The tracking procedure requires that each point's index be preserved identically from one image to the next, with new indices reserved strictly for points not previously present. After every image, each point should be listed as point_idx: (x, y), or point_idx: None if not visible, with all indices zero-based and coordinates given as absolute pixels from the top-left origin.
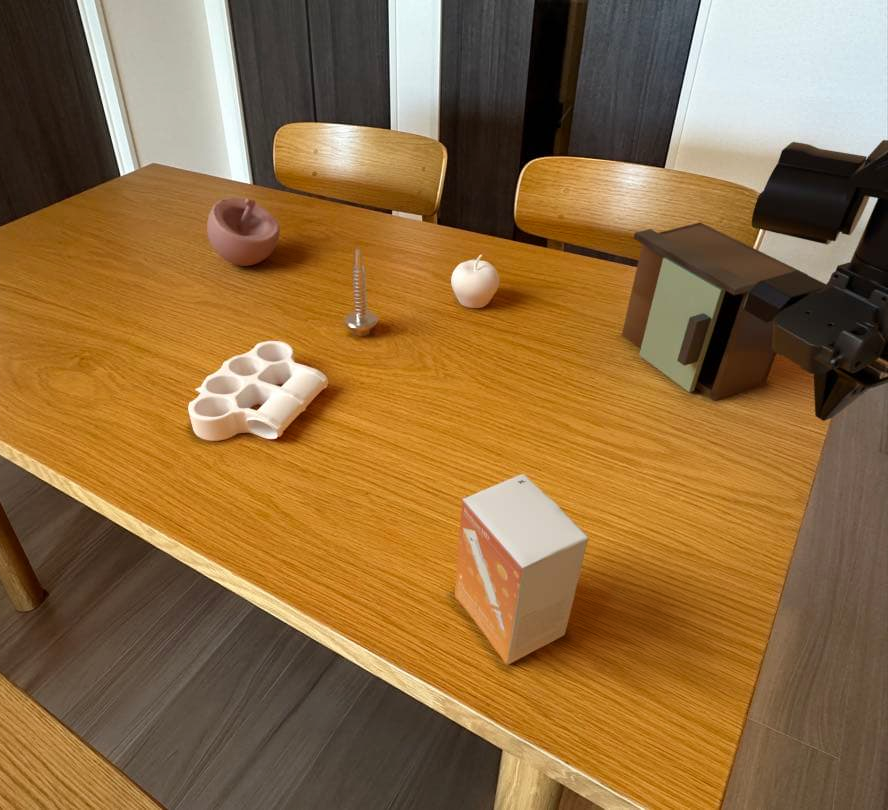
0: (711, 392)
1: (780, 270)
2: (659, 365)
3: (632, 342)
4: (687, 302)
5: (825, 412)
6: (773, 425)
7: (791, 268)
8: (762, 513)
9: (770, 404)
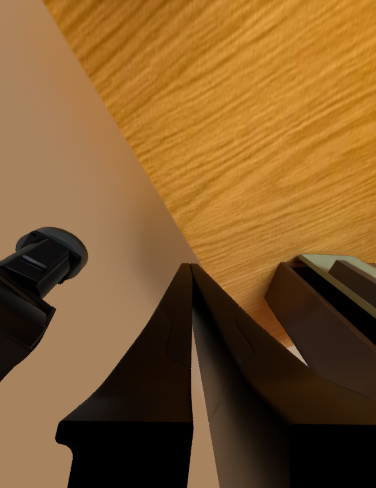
0: (287, 265)
1: None
2: (335, 257)
3: None
4: None
5: (183, 272)
6: (238, 274)
7: None
8: (184, 194)
9: (250, 287)
